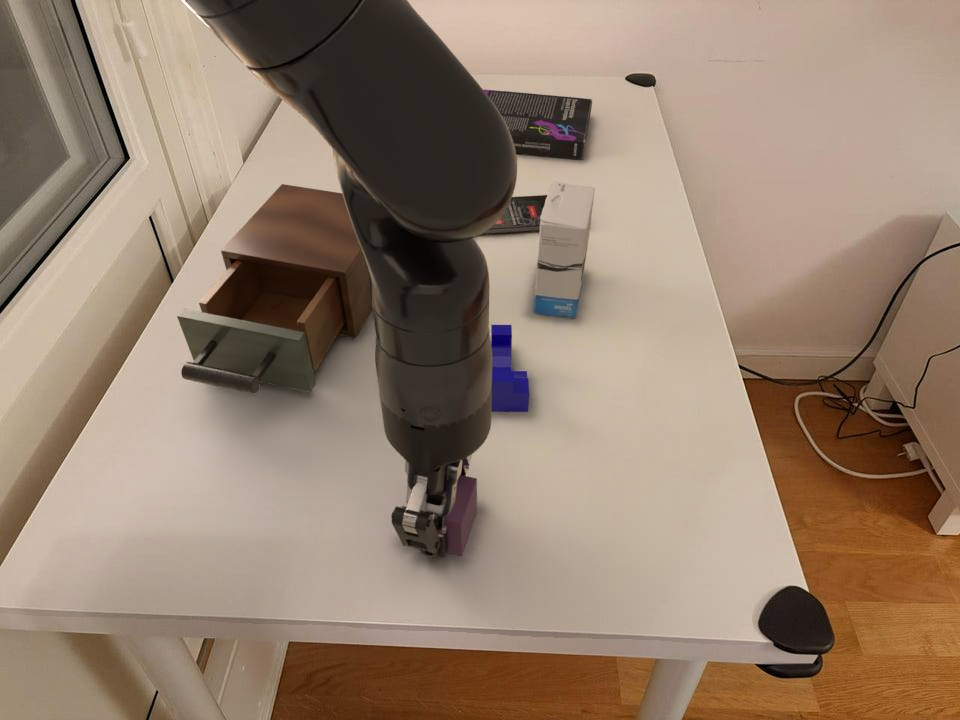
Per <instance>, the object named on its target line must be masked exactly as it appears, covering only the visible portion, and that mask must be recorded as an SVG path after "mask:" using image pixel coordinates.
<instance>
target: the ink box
mask: <svg viewBox="0 0 960 720" xmlns="http://www.w3.org/2000/svg"><path fill="white" fill-rule="evenodd" d="M595 189H596V188H595V187H592V186H587V185H581V184H580V185H579V184H572V183H567V182H566V183H565V182H558V181H552V182H551V183H550V184H549V187H548V191H547V194H546V195H547V198H546V200H545V205H544V208H543V210H542V214H541V216H540V219H541V222H540V230H539V233H538V246H537V247H538V249H537V261H536V273H535V274H536V276H535V288H534V298H533V299H534V300H533V311H532V312H533V314H534V315H542V316H552V317H559V318H566V319H576V318H577V313H578V307H579V302H580V296H581V290H582V284H583V278H584V272H585V265H586V259H587V253H588V245H589V239H590V231H591V225H592V223H591V222H592V216H593V215H592V213H593V206H594V200H595V199H594V198H595Z"/></svg>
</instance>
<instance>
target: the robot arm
mask: <svg viewBox="0 0 960 720" xmlns="http://www.w3.org/2000/svg"><path fill="white" fill-rule="evenodd" d="M181 1H182V2H183V4H184V5H186V7H187V8H188V9H189V10H190V11H192V12H193V14H194V15H195V16H196V17H197V18H198V19H199V20H200V21H201V22H202V23H203V24H204V25H205V26H206V27H207V28H208V30H209V31H211V33H213V34H214V36H216V38H218V40H219V41H221V43H222V44H223V45H224V46H225V47H226V48H227V49H228V50H229V51H230V52H231V54H233V55H234V56H235V57H236V58H237V59H238V61H240V63H242V65H244V67H245V68H246V69H248V70H249V72H251V73H252V74H253V75H254V76H255V77H256V78H257V79H258V80H259V81H261V83H263V84H264V85H265V86H266V87H267V88H268V89H269V90H270V91H272V92H273V93H274V94H275V95H276V96H277V97H279V99H281V100H283V101H284V102H285V103H286V104H287V105H289V106H290V107H291V108H292V109H294V110H295V112H297V114H298V113H299V114H300V115H301V116H302V117H303V118H304V119H305V120H306V121H307V122H308V123H309V124H310V125H311V126H312V127H313V128H314V129H315V130H316V131H317V132H318V134H319V135H320V136H321V137H322V138H323V139H324V140H325V141H326V144H328V145H329V146H330V147H331V148H332V156H333V161H334V166H335V171H336V175H337V179H338V182H339V183H338V184H339V187H340V190H341V193H342V194H343V197H344V201H345V204H346V207H347V210H348V213H349V217H350V220H351V223H352V226H353V229H354V232H355V235H356V238H357V241H358V244H359V246H360V249H361V252H362V255H363V257H364V260H365V263H366V266H367V270H368V273H369V279H370V293H371V302H372V316H373V324H374V331H375V348H374V361H375V371H376V379H377V386H378V394H379V401H380V409H381V417H382V423H383V430H384V434H385V437H386V439H387V441H388V442H389V445H390V446H391V447H392V448H393V449H394V450H395V451H396V452H397V453H398V454H399V455H400V456H401V457H402V458H403V460H404V472H405V473H406V476H407V479H406V480H407V481H406V482H407V483H406V484H407V485H406V505H407V506H406V505H401V506H395V508H394V509H393V511H392V513H391V525H392V527H393V528H394V530H395V532H396V534H397V536H398V539H399V540H400V542H401V544H402V546H403V547H408V548H410V547H411V548H414V549H418V550H419V552H420V555H422V556H426V557H430V558H434V559H436V560H439V559H440V558H445V557H447V556H446V555H447V553H448V552H447V550H448V537H447V517H448V515H449V514H450V513H451V511H452V509H453V507H454V504H455V501H456V489H457V480H458V478H459V476H460V475H463V476H467V473H468V471H469V469H470V467H471V459H472V455H473V454H474V453H475V452H477V451H478V450H479V449H480V448H481V447H482V446H483V445H484V443H485V442H486V440H487V439H488V436H489V435H490V431H491V427H492V411H491V407H492V347H491V334H490V289H491V288H490V273H489V267H488V263H487V259H486V256H485V254H484V252H483V249H481V247H480V245H479V244H478V243H477V241H476V240H475V238H477V237H479V236H480V235H483V234H482V233H484V232H485V231H487V230H488V229H490V228H491V227H492V226H493V225H494V224H495V223H496V222H497V221H498V220H499V219H500V218H501V216H502V215H503V214H504V212H505V210H506V209H507V207H508V205H509V203H510V201H511V198H512V197H514V192H515V189H516V185H517V179H518V158H517V153H516V150H515V146H514V142H513V139H512V136H511V133H510V131H509V129H508V127H507V125H506V123H505V121H504V119H503V117H502V116H501V114H500V112H499V111H498V109H497V108H496V106H495V105H494V103H493V102H492V101H491V99H490V98H489V97H488V95H487V94H486V93H485V92H484V90H485V89H484V90H483V88H482V86H481V85H480V84H479V83H478V82H477V80H476V78H475V77H474V76H472V74H471V73H470V72H469V70H468V69H467V68H466V67H465V66H464V65H463V63H462V62H461V61H460V60H459V58H458V57H457V56H456V55H455V54H454V52H452V51H451V50H450V49H451V48H449V47H448V45H447V44H446V43H445V42H444V41H443V39H441V38H440V36H439V35H438V34H437V33H436V32H435V31H434V29H432V27H431V26H430V25H429V24H428V23H427V22H426V21H425V20H424V18H422V17H421V16H420V14H419V13H418V12H417V11H416V10H415V8H414V7H413V6H412V4H411V3H410V2H409V0H181ZM445 492H446V494H445V496H441V495H442V494H444V493H445ZM427 511H430V512H427ZM431 512H434V513H436V514H437V516H438V519H436V518H434V517H435V514H434V513H431Z"/></svg>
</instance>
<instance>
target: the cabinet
mask: <svg viewBox="0 0 960 720" xmlns="http://www.w3.org/2000/svg"><path fill="white" fill-rule="evenodd" d="M220 252H221V253H220V254H221V256H222V260H223V263H224V266H225V269H226V271H227V270H228V269H229V268H230V267H231V265H232V264H233V263H234V262H235V261H236V260H237V259H238V260H243V261H249V262H254V263H260V264H266V265H271V266H277V267H283V268H288V269H294V270H300V271H305V272H311V273H316V274H322V275H328V276H333V277H339V279H340V285H341V291H342V297H343V303H344V310H345V316H346V322H345V324H344V325H343V327H342V329H341V330H340V332H339V333H338V336H344V337H350V338H354V339H356V338H357V336H358V335H359V333H360V332H361V329H362V328H363V326H364V324H366V322H367V319H368V318H369V316H370V314H371V313H372V312H373V310H372V302H371V293H370V279H369V273H368V270H367V266H366V263H365V260H364V257H363V255H362V252H361V249H360V246H359V244H358V241H357V238H356V235H355V232H354V229H353V226H352V223H351V220H350V217H349V213H348V210H347V207H346V204H345V201H344V197H343V194H342V192H338V191H337V192H336V191H331V190H323V189H318V188H310V187H303V186H298V185H297V186H296V185H290V184H285V183H281V184H280V185H279V187H278V188H277V189H275V191H274V192H273V193H272V194H271V195H270V197H268V199H267V200H265V202H264V203H263V204H262V205H261V206H260V207H259V208H258V209H257V211H255V213H254V214H253V215H251V217H250V218H249V219H248V220H247V221H246V222H245V224H244V225H243V226H242V227H241V228H240V229H239V230H238V231H237V232H236V234H235V235H233V237H232V238H231V239H230V240H229V241H228V242H227V243H226V244H225V245H224V246H223V248H222V249H221V250H220Z"/></svg>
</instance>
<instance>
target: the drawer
mask: <svg viewBox="0 0 960 720" xmlns="http://www.w3.org/2000/svg"><path fill="white" fill-rule="evenodd" d="M202 297H203V298H202V299H201V300H200V301H199V302H198V306H199V308H200V311H198V310H192V309H188V308H183V309H182V310H180V312H179V313H178V315H176V318H177V320H178V323H179V325H180V329H181V331H182V333H183V336H184V339H185V341H186V344H187V347H188V349H189V352H190V355H191V357H192V360H193V361H192V362H191V361H187V362H185V363H184V364H183V366H182V368H181V372H180V374H181V377H182V379H183V380H187V381H190V382H196V383H199V384H200V383H201V384H204V385H210V386H214V387H219V388H224V389H227V390H233V391H237V392H243V393H247V394H252V395H255V394H257V393H258V392H259V389H260V388H261V383H263V384H269V385H274V386H279V387H283V388H288V389H292V390H298V391H301V392H307V393H312V392H313V390H314V389H315V387H316V386H317V381H316V378H315V373H314V372H316V370H317V369H318V368H319V365H320V364H321V362H322V361H323V359H324V358H325V356H326V354H327V353H328V351H329V349H330V348H331V346H332V345H333V343H334V342H335V340H336V339H337V337H338V336H339V334H338V333H339V332H340V330H341V329H342V327H343V325H344V324H345V322H346V316H345V310H344V303H343V297H342V291H341V285H340V279H339V277H333V276H328V275H322V274H316V273H311V272H305V271H300V270H294V269H288V268H283V267H277V266H271V265H266V264H260V263H254V262H249V261H243V260H238V259H237V260H236V261H235V262H234V263H233V264H232V265H231V267H230V268H229V269H228V270H226V271H225V272H224V273H223V275H222V276H221V277H220V278H218V280H217V281H216V282H215V284H214V285H213V286H212V287H211V288H210V289H209V291H207V292H206V294H205V295H204V296H202Z"/></svg>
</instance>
